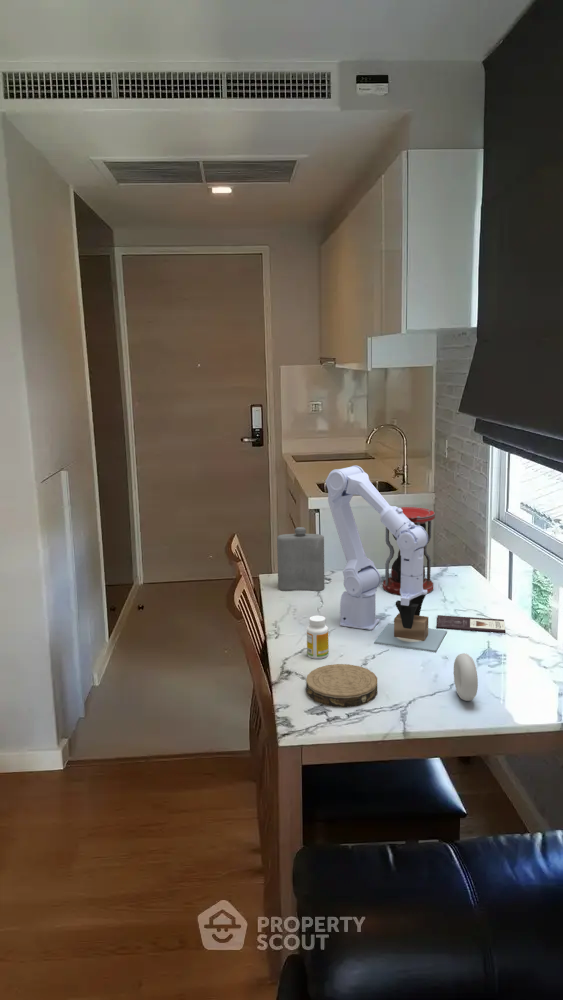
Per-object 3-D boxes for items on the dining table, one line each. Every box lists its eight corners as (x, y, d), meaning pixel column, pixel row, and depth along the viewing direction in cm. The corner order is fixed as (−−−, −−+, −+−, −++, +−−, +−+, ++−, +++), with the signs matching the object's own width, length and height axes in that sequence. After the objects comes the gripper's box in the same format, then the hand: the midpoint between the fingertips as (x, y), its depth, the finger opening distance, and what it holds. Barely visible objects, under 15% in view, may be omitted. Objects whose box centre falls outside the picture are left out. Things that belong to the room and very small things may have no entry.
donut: (451, 688, 158) (452, 646, 157) (466, 687, 158) (467, 645, 157) (462, 709, 149) (464, 665, 147) (479, 709, 149) (480, 664, 147)
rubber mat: (374, 643, 184) (374, 641, 184) (388, 624, 197) (388, 622, 197) (435, 652, 178) (435, 650, 178) (446, 632, 190) (447, 630, 190)
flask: (324, 585, 232) (323, 525, 228) (324, 591, 226) (323, 530, 222) (279, 585, 233) (277, 526, 229) (277, 591, 227) (276, 530, 223)
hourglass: (375, 582, 233) (375, 508, 228) (420, 578, 237) (421, 505, 232) (394, 598, 218) (394, 519, 213) (442, 593, 222) (444, 515, 217)
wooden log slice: (292, 689, 160) (291, 677, 160) (343, 669, 170) (343, 658, 169) (339, 716, 148) (339, 703, 147) (392, 693, 157) (392, 680, 157)
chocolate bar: (437, 615, 202) (503, 619, 197) (437, 618, 202) (503, 622, 197) (436, 626, 193) (505, 631, 189) (436, 630, 193) (505, 634, 189)
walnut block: (424, 640, 183) (424, 622, 182) (394, 636, 187) (394, 618, 186) (428, 634, 187) (428, 616, 186) (398, 630, 191) (398, 613, 190)
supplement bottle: (331, 651, 180) (330, 615, 178) (325, 660, 175) (324, 623, 173) (310, 649, 181) (310, 613, 179) (304, 657, 176) (303, 620, 174)
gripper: (420, 583, 176) (419, 634, 178) (433, 567, 189) (432, 615, 191) (392, 580, 178) (392, 631, 181) (407, 564, 191) (406, 612, 194)
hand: (411, 622), depth 186 cm, fingers open, 7 cm apart
